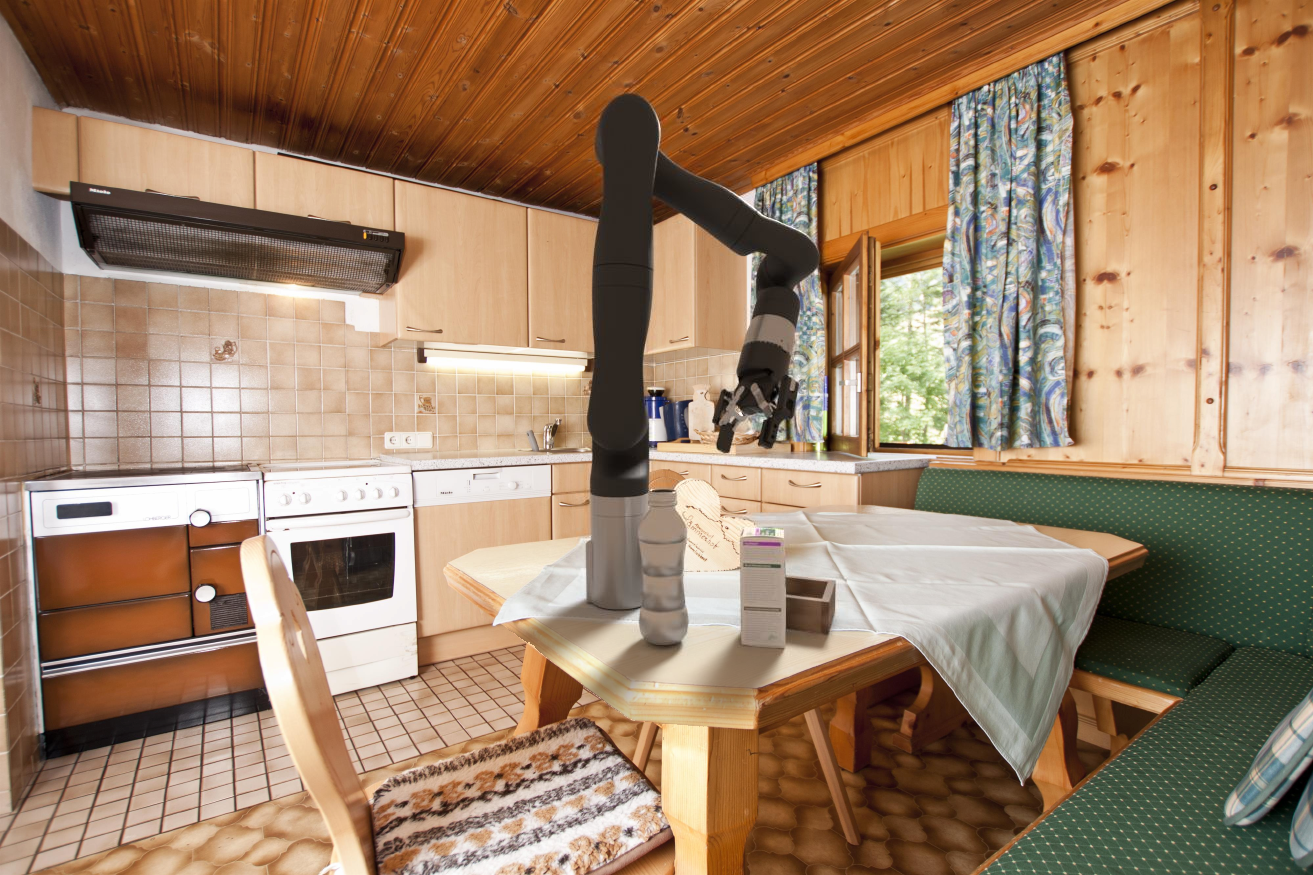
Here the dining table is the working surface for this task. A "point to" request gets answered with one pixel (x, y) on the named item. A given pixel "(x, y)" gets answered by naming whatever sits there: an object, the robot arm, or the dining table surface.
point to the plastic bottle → (663, 570)
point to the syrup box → (763, 587)
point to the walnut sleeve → (810, 604)
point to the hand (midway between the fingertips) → (742, 449)
